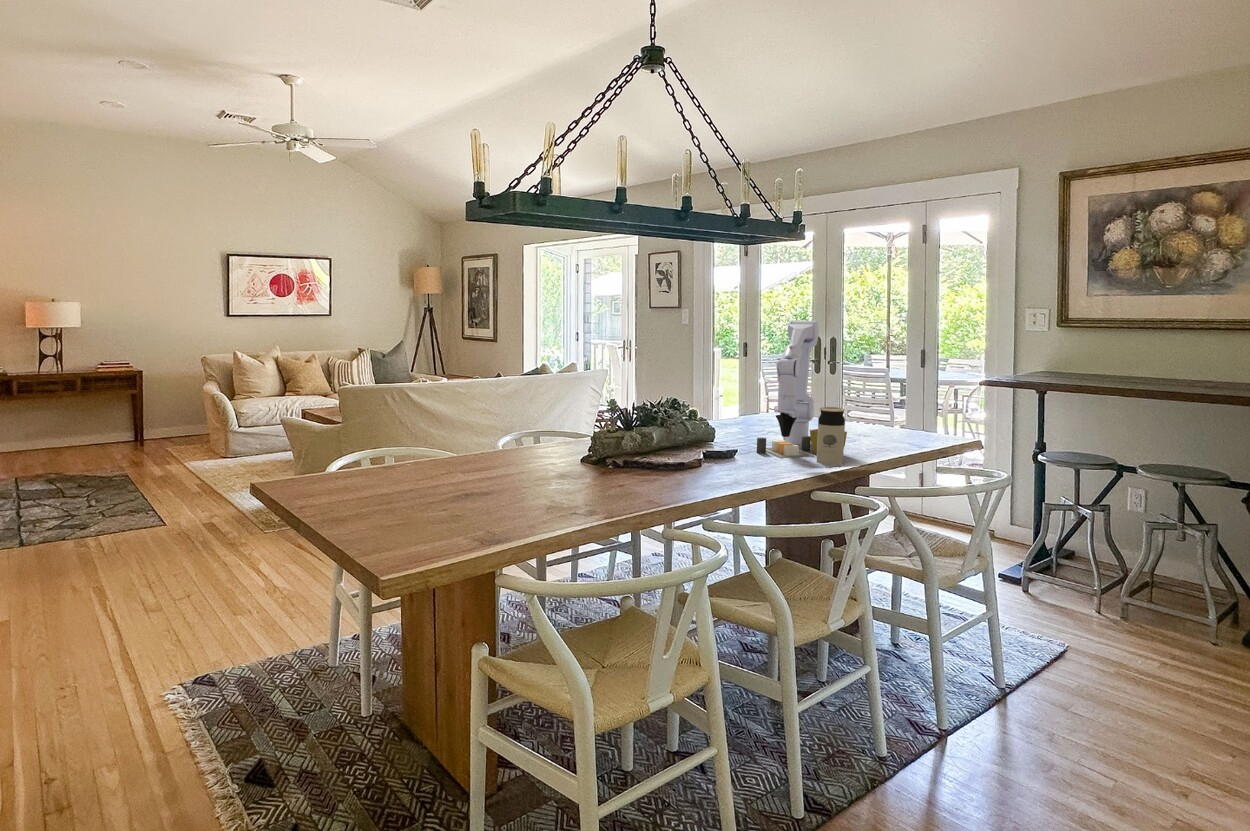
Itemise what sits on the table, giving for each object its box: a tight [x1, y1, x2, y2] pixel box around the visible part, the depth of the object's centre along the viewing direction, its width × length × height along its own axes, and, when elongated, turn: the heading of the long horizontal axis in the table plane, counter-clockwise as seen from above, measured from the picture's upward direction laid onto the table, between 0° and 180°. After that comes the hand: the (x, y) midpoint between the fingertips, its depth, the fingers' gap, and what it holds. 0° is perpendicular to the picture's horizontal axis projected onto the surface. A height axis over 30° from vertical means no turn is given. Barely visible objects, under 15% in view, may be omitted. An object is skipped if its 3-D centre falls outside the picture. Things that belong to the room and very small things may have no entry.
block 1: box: [771, 439, 787, 451], centre depth 266 cm, size 2×4×3 cm, turn 104°
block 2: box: [778, 442, 793, 453], centre depth 262 cm, size 2×4×3 cm, turn 104°
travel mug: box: [816, 406, 846, 469], centre depth 245 cm, size 8×8×18 cm
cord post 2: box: [800, 435, 812, 453], centre depth 265 cm, size 3×3×6 cm
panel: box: [766, 447, 815, 459], centre depth 262 cm, size 18×12×2 cm, turn 14°
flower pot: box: [809, 428, 848, 455], centre depth 259 cm, size 9×9×9 cm
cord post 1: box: [756, 437, 767, 455], centre depth 261 cm, size 3×3×6 cm
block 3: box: [784, 444, 800, 456], centre depth 257 cm, size 2×4×3 cm, turn 104°
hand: (785, 436), depth 261 cm, fingers closed
